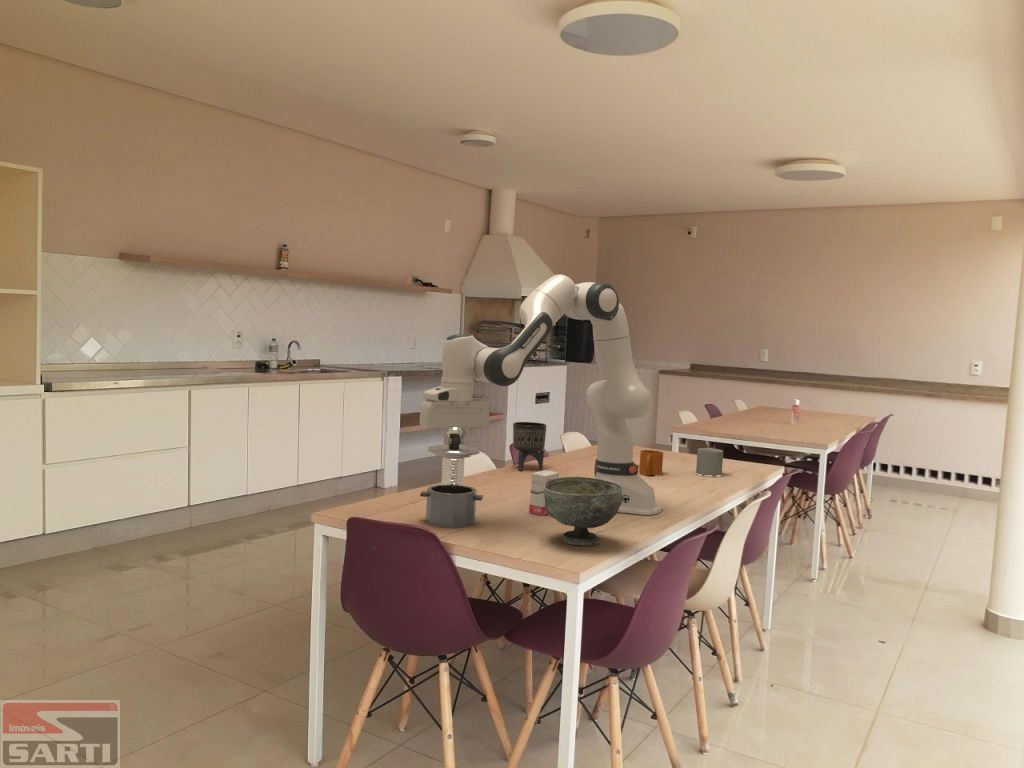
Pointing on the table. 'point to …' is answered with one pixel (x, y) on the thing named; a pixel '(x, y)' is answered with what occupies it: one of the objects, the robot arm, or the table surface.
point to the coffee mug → (709, 461)
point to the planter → (529, 441)
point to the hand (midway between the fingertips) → (454, 444)
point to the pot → (451, 505)
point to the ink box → (540, 491)
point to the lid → (454, 449)
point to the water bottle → (453, 466)
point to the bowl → (582, 505)
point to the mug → (651, 462)
